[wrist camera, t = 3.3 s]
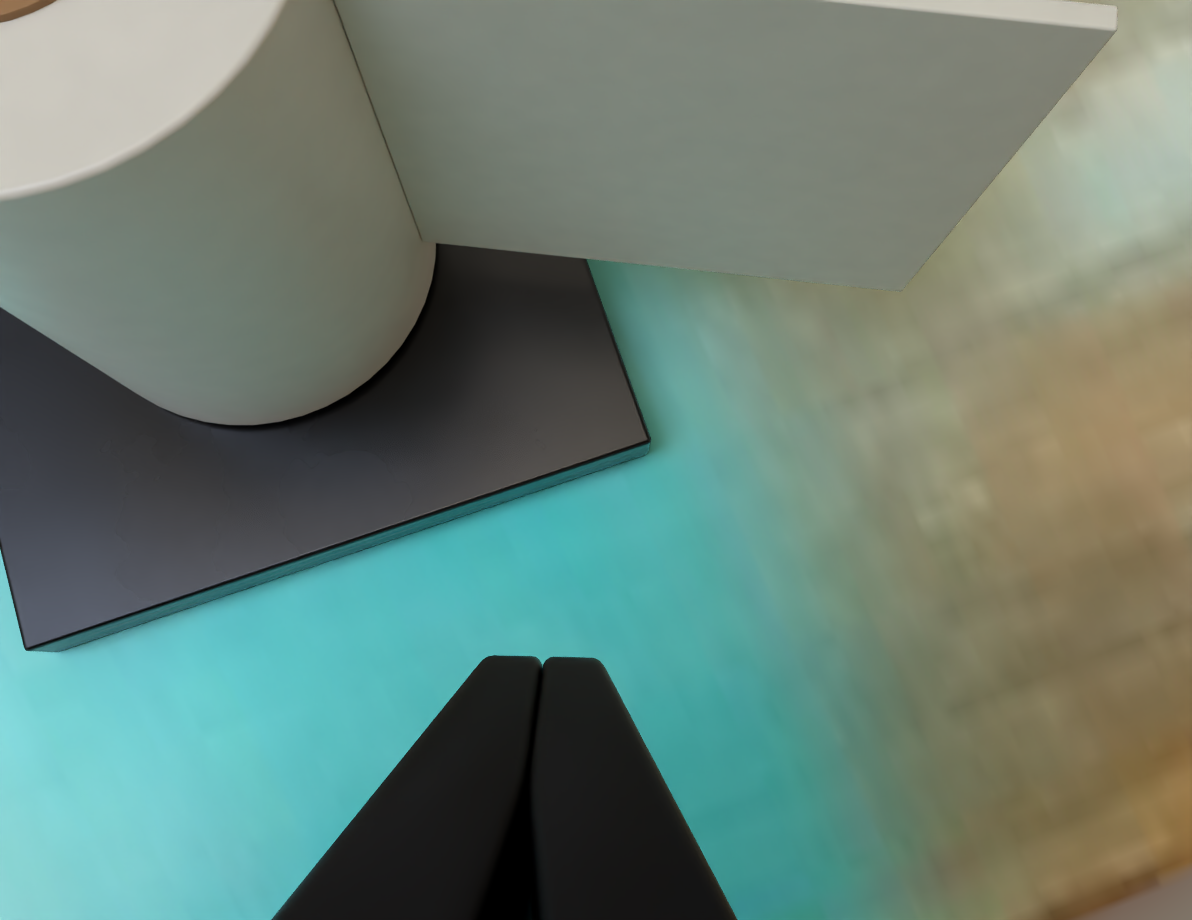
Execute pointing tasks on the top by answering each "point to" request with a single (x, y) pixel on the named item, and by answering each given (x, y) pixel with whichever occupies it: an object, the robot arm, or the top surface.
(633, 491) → the top surface
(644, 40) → the towel roll
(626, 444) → the holder
